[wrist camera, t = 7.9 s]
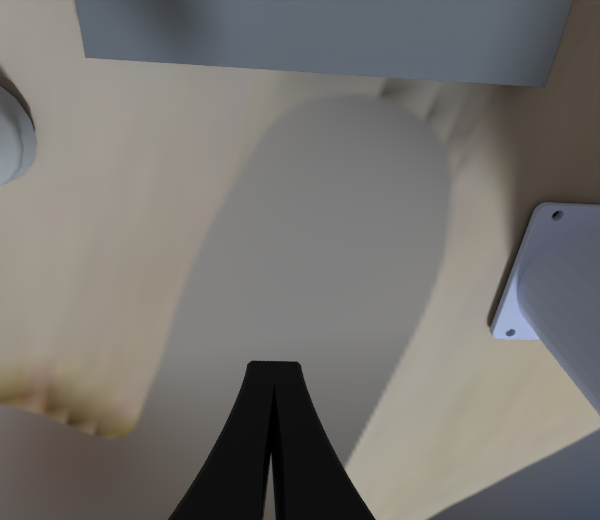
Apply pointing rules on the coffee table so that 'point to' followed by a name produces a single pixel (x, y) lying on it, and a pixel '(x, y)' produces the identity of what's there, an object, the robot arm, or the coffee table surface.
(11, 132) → the rook chess piece
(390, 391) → the coffee table surface
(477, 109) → the coffee table surface
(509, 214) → the coffee table surface
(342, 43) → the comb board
